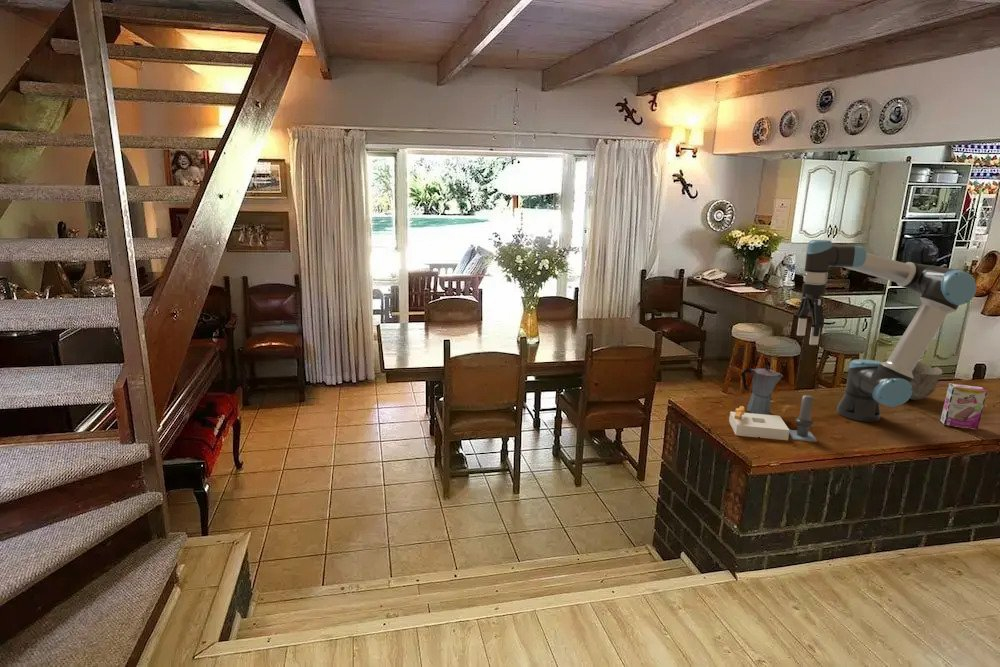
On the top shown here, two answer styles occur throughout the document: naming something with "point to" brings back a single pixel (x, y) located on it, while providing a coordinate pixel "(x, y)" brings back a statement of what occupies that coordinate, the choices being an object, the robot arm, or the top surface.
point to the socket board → (759, 426)
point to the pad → (795, 437)
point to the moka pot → (761, 389)
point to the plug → (805, 416)
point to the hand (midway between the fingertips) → (806, 339)
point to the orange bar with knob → (739, 412)
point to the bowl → (924, 380)
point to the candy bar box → (963, 405)
